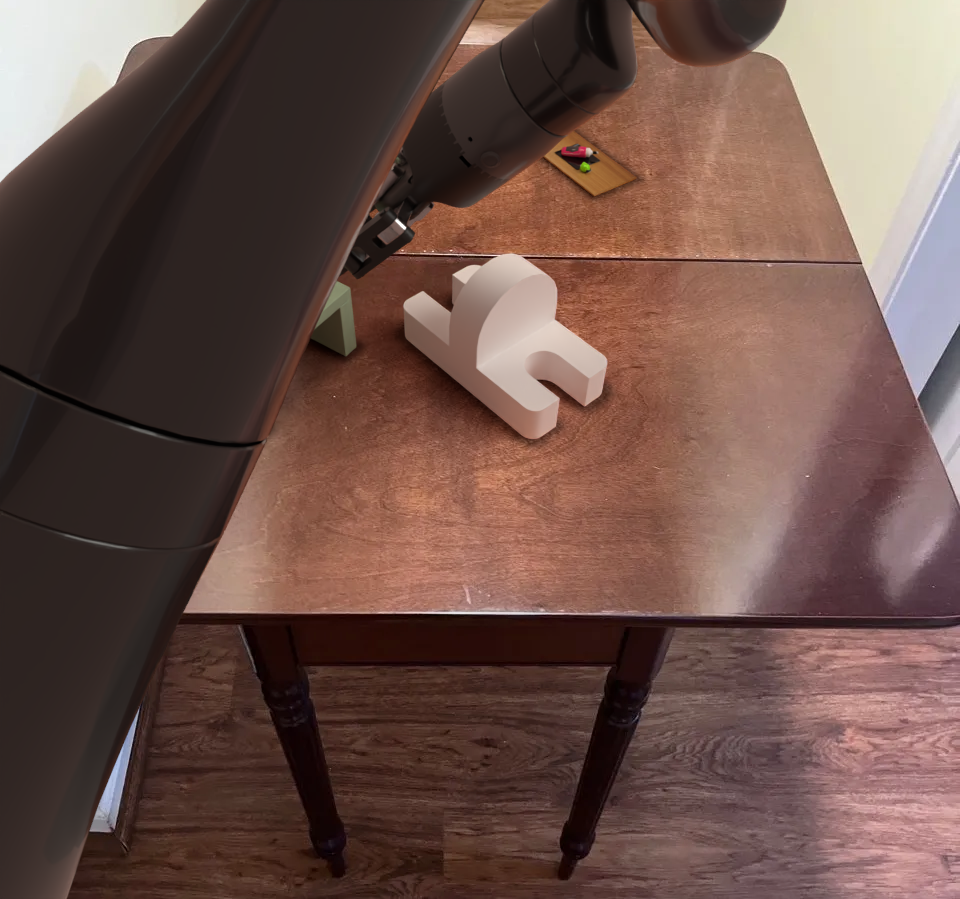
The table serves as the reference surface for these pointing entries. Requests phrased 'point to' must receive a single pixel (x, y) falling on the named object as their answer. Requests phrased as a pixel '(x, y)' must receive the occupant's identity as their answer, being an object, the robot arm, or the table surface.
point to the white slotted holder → (507, 342)
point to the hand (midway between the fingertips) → (337, 237)
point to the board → (587, 165)
